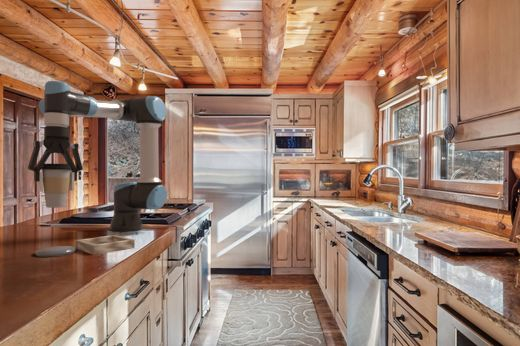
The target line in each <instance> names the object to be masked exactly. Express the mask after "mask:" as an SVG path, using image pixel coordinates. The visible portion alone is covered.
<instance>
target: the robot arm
mask: <svg viewBox="0 0 520 346" xmlns="http://www.w3.org/2000/svg"><path fill="white" fill-rule="evenodd" d="M43 95H44V97H43V98H41V100H39V102H38V109H39V111H40V113H41V114H42V115H43V116H44V118H43V119H44V120H43V121H44V122H43V123H44V124H43V125H45V126H44V127H43V130H44V131H43V134H44V135H43V140H41V141H39V140H33V143H32V146H33V150H32V153H31V156H30V160H29V161H28V162H29V163H28V166H27V170H29V171H32V172H33V174H34V175H33V179H34V182H37V183H36V185H37V186H36V187H37V190H36V191H37V192H39V193H41V192H44V188H43V172H42V167H43V165H44V164H46V162H47V160H48V159H49V157H50V156H51V155H52V154H61V156H63V158H64V160H65V162H66V164H70V167H71V169H72V170H70V176H69V178H70V180H69V188H68V191H73V192H74V191H75V182H77V181H78V172H81V171H83V170H84V168H83V163H82V160H81V156H80V151H79V146H80V144H79V143H73V142H70V128H69V126H70V117H72V118H73V117H78V118H105V119H106V118H107V119H108V118H109V119H111V120H112V121H113V120H114V121H123V122H132V123H135V125H136V126H137V127H138V128H139V179H138V180H137V181H132V182H131V181H129V182H123V183H117V184H115V185H114V188H113V217H112V219H111V222H110V224H109V231H111V232H133V231H134V232H135V231H140V230H143V222H142V218H141V216H140V209H141V210H150V211H151V210H159V209H161V208H162V207H163V206H164V204H166V202H167V197H168V190H167V188H166V186H164V185H163V181H162V180H161V179H160V178H159V177H160V176H159V175H160V173H159V171H160V170H159V169H160V167H159V165H160V164H159V163H160V162H159V128H161V127H162V122H163V121H164V120H165V119H166V117H167V107H166V104H165V102H164V101H163V100H162V99H161V98H160V97H159V96H155V95H153V96H152V95H147V96H140V97H139V96H138V97H130V98H122V99H112V100H97V99H96V98H95V97H92V96H89V95H88V94H87V95H86V94H81V93H78V92H75V91H74V92H73V91H71V88H70V84H68V83H67V82H64V81H60V80H59V81H58V80H50V81H47V82H45V84H44V93H43ZM42 146H44V148H45V150H44V152H43V154H42V156H41V157H40V159H39V161H38V162H37V160H38V156H39V154H40V150H41V148H42ZM69 147H70V149H71V151H72V152H71V153H72V157H73V159H72V157H71V155H70V152H69V150H68V149H69Z"/></svg>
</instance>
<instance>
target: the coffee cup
mask: <svg viewBox="0 0 520 346" xmlns="http://www.w3.org/2000/svg"><path fill="white" fill-rule="evenodd" d="M71 170H72V169H71V167H70V164H67V163H45V164H44V165H43V167H42V169H41V172H43V193H44V198H45V208H47V209H48V208H51V209H53V208H54V209H55V208H64V207H66V205H67V199H68V192H69V180H70V178H69V176H70V172H71Z"/></svg>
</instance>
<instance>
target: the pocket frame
mask: <svg viewBox="0 0 520 346" xmlns="http://www.w3.org/2000/svg"><path fill="white" fill-rule="evenodd" d="M135 241H136V240H135V239H133V238H128V237H125V236H120V235H118V234H117V235H116V234H113V235H105V236H98V237H97V236H96V237H92V238H84V239H76V240H75V248H76V250H79V251H81V252H85V253H87V254H91V255H94V256H95V255H102V254H107V253H113V252H119V251H123V250H131V249H135V245H136V244H135Z"/></svg>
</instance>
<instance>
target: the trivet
mask: <svg viewBox="0 0 520 346" xmlns="http://www.w3.org/2000/svg"><path fill="white" fill-rule="evenodd" d="M76 250H77V249H76V246H71V245H55V246H47V247H44V248H43V247H42V248H38V249H36V250H35V256H37V257H38V258H39V257H40V258H53V257H54V258H55V257H61V256H68V255H71V254H73V253H74V254H75V253H76Z"/></svg>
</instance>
